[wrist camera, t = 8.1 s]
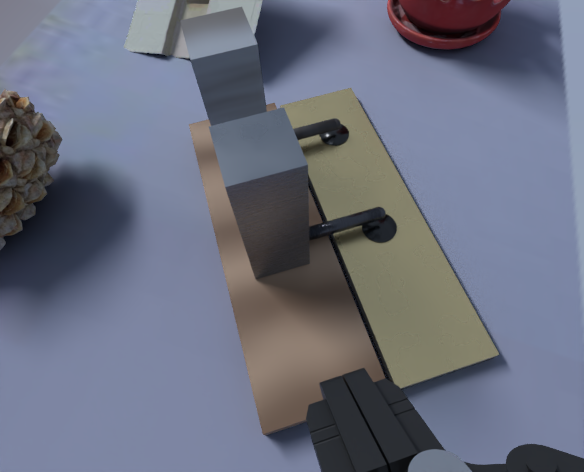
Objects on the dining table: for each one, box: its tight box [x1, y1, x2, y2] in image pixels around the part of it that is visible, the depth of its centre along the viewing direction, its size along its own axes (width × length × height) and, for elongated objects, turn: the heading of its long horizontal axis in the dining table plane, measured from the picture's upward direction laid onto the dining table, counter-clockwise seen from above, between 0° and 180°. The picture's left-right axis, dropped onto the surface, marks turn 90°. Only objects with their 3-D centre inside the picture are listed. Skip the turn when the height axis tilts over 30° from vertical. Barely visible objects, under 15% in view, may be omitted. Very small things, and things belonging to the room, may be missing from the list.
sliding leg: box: [209, 108, 386, 279], centre depth 24 cm, size 4×10×11 cm, turn 107°
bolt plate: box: [280, 88, 500, 389], centre depth 31 cm, size 26×7×1 cm, turn 17°
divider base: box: [180, 7, 385, 435], centre depth 26 cm, size 26×12×12 cm, turn 17°
